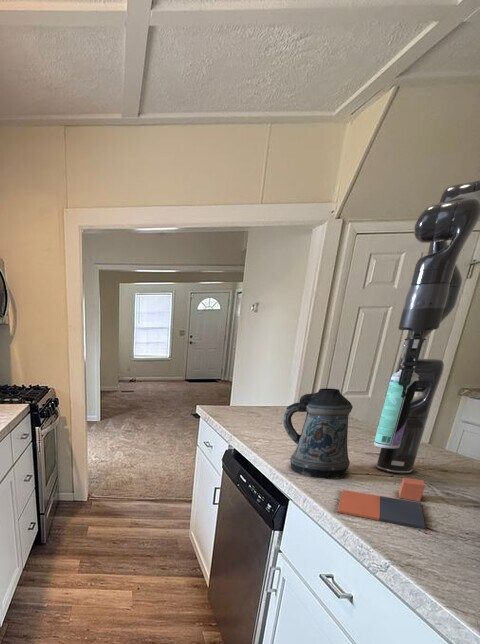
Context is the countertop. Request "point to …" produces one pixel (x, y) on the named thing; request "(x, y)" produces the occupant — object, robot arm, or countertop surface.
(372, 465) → the countertop surface
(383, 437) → the spray can
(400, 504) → the sorting mat
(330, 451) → the beer stein
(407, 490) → the terracotta block
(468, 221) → the robot arm
